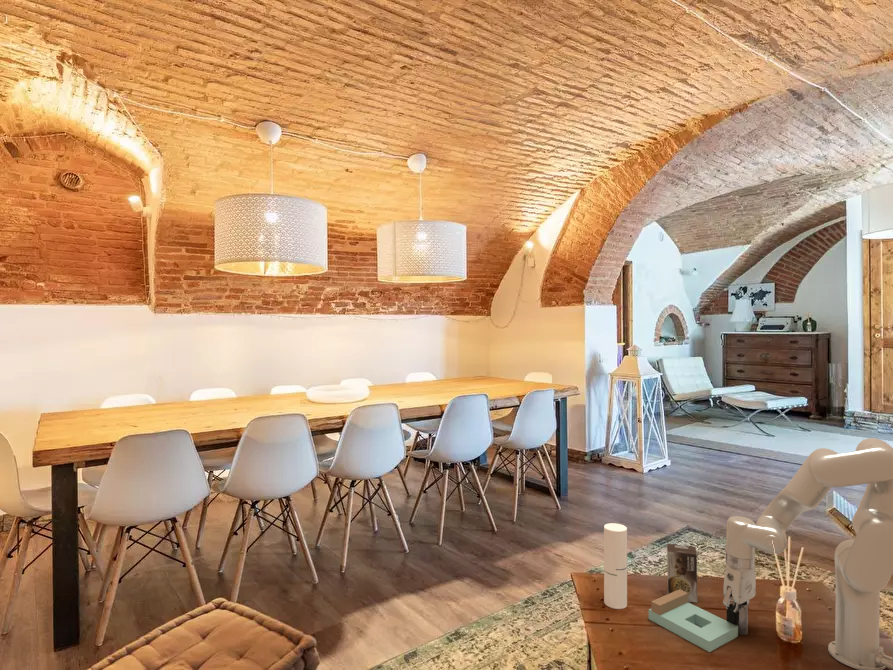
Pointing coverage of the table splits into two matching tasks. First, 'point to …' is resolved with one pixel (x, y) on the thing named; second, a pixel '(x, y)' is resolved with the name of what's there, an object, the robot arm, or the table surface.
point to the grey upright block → (742, 618)
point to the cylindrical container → (615, 565)
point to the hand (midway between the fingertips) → (737, 619)
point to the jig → (691, 621)
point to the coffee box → (682, 570)
